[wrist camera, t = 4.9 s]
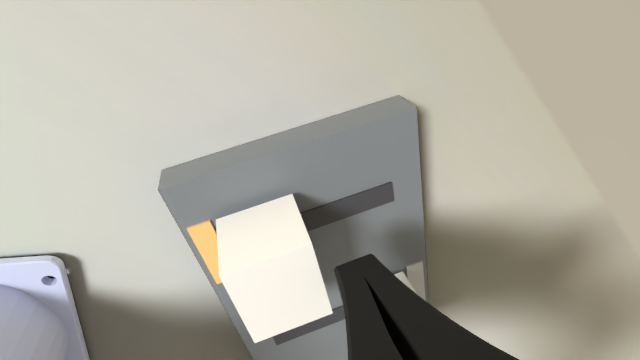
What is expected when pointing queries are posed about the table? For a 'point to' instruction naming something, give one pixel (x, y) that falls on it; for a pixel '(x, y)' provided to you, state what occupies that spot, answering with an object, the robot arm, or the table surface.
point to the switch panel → (315, 207)
